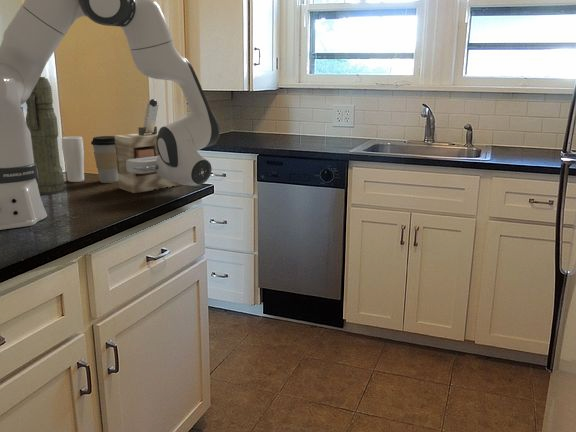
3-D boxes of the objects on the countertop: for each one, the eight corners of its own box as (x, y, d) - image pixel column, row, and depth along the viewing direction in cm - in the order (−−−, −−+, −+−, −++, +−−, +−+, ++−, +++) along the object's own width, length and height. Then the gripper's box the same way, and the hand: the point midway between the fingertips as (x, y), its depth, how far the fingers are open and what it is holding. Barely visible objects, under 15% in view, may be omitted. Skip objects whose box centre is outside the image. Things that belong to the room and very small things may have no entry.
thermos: (28, 195, 172) (14, 77, 163) (40, 187, 184) (27, 76, 174) (58, 195, 173) (46, 77, 164) (68, 187, 184) (57, 76, 175)
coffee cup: (115, 184, 188) (111, 139, 184) (89, 183, 190) (85, 138, 186) (127, 179, 197) (124, 136, 193) (102, 178, 199) (99, 135, 195)
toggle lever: (145, 134, 179) (151, 101, 173) (142, 130, 180) (147, 97, 174) (154, 133, 181) (160, 101, 174) (150, 129, 182) (156, 97, 176)
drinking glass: (79, 183, 190) (75, 138, 186) (61, 182, 191) (56, 138, 188) (90, 179, 196) (86, 136, 193) (72, 178, 198) (68, 135, 194)
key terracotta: (140, 173, 175) (139, 151, 173) (129, 170, 180) (128, 148, 178) (155, 171, 178) (153, 149, 176) (143, 168, 183) (142, 147, 181)
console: (134, 193, 175) (129, 130, 170) (118, 188, 182) (113, 127, 177) (183, 184, 187) (180, 126, 182) (167, 180, 194) (163, 123, 189)
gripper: (140, 180, 159) (117, 174, 169) (200, 171, 173) (175, 166, 183) (138, 158, 158) (115, 153, 168) (199, 151, 171) (174, 146, 181)
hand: (147, 159), depth 175 cm, fingers closed, pressing on key terracotta
